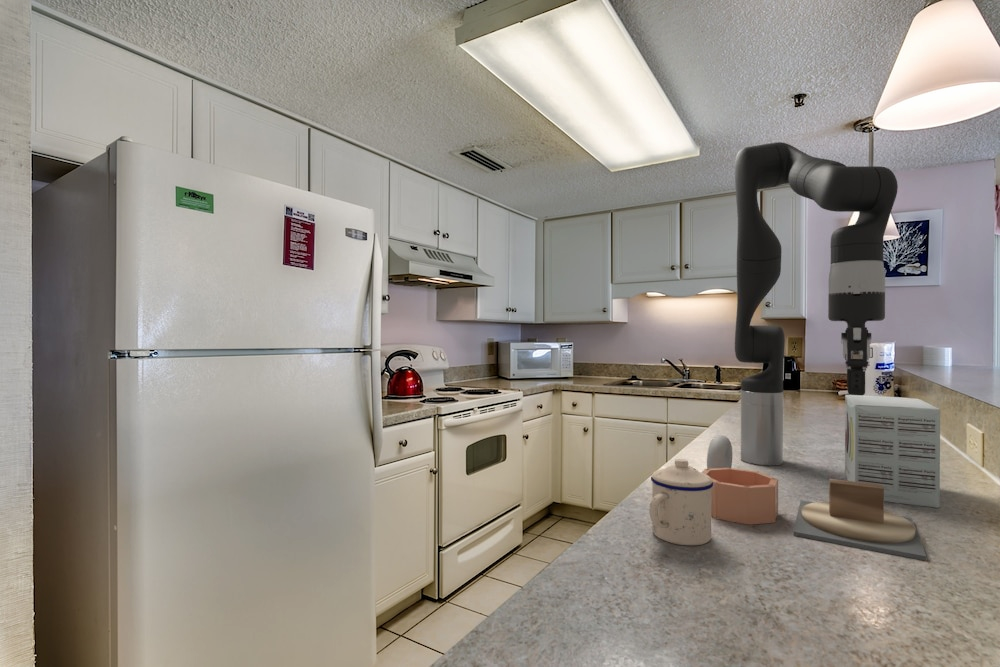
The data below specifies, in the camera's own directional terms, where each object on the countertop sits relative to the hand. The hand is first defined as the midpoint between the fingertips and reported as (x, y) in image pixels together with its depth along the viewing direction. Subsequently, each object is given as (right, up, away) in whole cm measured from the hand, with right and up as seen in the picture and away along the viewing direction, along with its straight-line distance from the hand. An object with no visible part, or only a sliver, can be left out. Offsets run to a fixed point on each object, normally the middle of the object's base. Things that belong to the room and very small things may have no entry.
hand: (855, 392), depth 83 cm
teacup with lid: (-30, -22, -4) cm, 38 cm away
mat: (0, -22, 0) cm, 22 cm away
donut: (-11, -22, +25) cm, 35 cm away
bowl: (-15, -22, +8) cm, 28 cm away
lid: (0, -21, 0) cm, 21 cm away
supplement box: (+20, -22, +20) cm, 36 cm away
